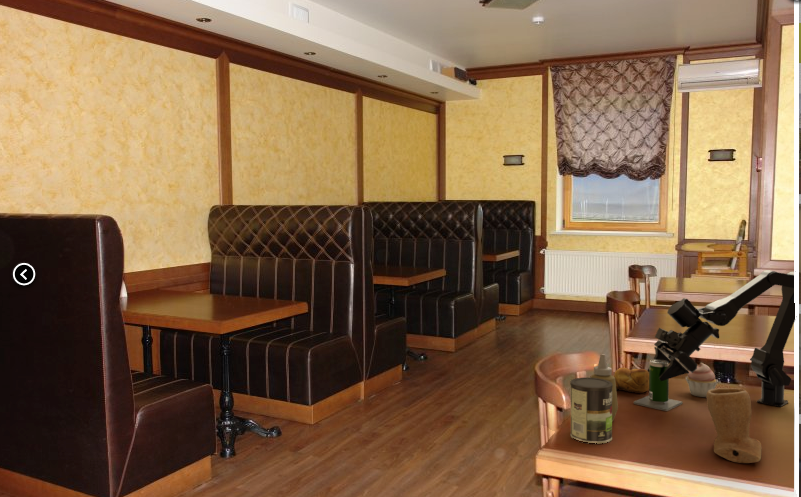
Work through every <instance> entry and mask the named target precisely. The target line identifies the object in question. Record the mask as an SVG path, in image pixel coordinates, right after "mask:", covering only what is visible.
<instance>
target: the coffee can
mask: <svg viewBox="0 0 801 497" xmlns="http://www.w3.org/2000/svg"><path fill="white" fill-rule="evenodd" d="M569 384H570V438H571V439H573V438H574V439H576V440H579V441H583V442H588V443H587V444H589V443H595V444H594V445H603V444H606V443H607V442H608V443H610V442H611V441H612V440H613V421H612V387H613V384H612V382H610V381H608V380H604V379H600V378H590V377H577V378H573V379H571V380H570V381H569ZM574 439H573V440H574ZM576 440H575V441H576ZM579 441H578V442H579ZM583 442H582V443H583ZM596 443H597V444H596ZM602 443H603V444H602ZM608 443H607V444H608Z"/></svg>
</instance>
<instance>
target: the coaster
mask: <svg viewBox="0 0 801 497" xmlns="http://www.w3.org/2000/svg"><path fill="white" fill-rule="evenodd" d="M633 404H634V405H638V406H643V407H645V408H650V409H655V410H659V411H660V410H661V411H664V412H669V411H670V410H673V409H674V408H677V407H678V406H679V407H680V406H681V405H682V404H683V401H680V400H677V399H672V398H669V400H668V402H667V403H666V404H655V403H652V402H650V400H649V394H648V395H646V396H644V397H642V398H641V397H640V398H639V399H636V400H634V401H633Z"/></svg>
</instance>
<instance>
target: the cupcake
mask: <svg viewBox="0 0 801 497" xmlns="http://www.w3.org/2000/svg"><path fill="white" fill-rule="evenodd" d="M688 372H689V373H688V374H687V376H685V381H686V383H687V384H688V389H689V393H690V394H691V396H693V397H698V398H707V397H706V394H707V392H708V391H709V390H712V389H716V388H717V387H716V386H717V385H718V383H719V379H716V375H715V373H714V372H713V370H712V369H711V368H710V367H709V366H708V365H707V364H704V363H703V362H700V363H699V365H697V369H696V370H695V371H694V372H693V373H691V372H690V371H688Z"/></svg>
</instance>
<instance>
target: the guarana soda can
mask: <svg viewBox="0 0 801 497" xmlns="http://www.w3.org/2000/svg"><path fill="white" fill-rule="evenodd" d="M669 365H670V364H668V361H665V360H658V359H655V360H653V359H650V360H649V363H648V368H649V372H648V373H649V389H648V395H649V400H650V402H652V403H655V404H666V403H667V402H668V400H669V399H670V398H669V397H670V396H669V394H670V391H669V390H670V388H669V386H670V379H667V380H664V381H660V380H659V377H660V376H661V374H662V373H663V372H664V371H665V369H666V368H667V367H668V366H669Z"/></svg>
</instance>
